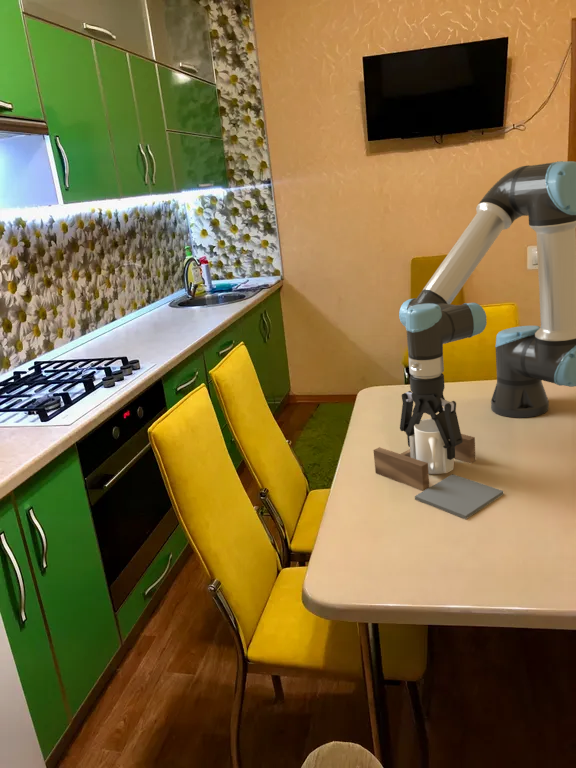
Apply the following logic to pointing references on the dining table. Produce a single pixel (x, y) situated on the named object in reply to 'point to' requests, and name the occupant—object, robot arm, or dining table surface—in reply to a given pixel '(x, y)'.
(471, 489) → the coaster
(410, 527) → the dining table surface
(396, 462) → the frame
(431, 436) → the mug
